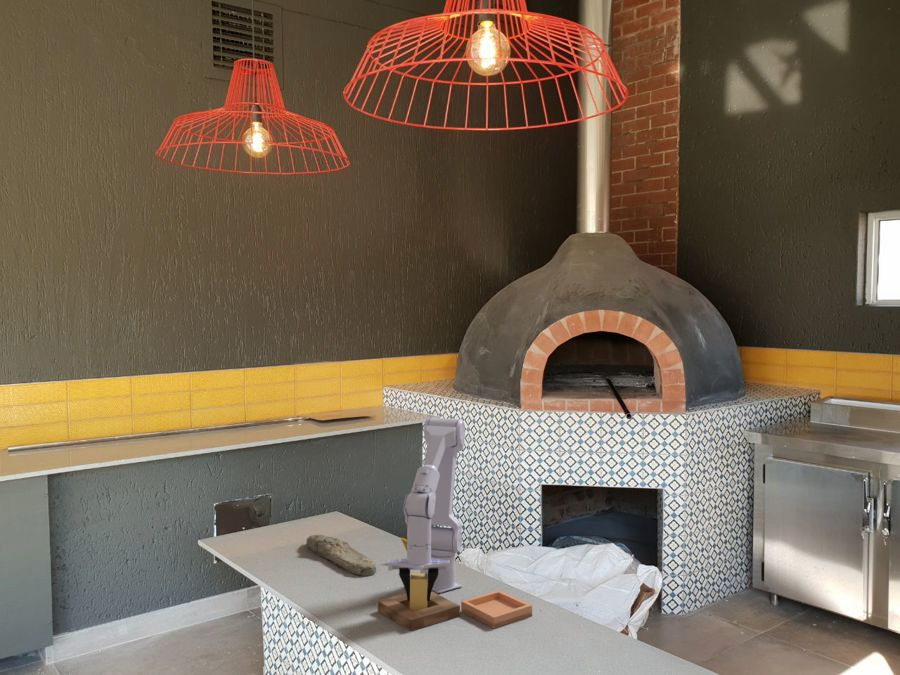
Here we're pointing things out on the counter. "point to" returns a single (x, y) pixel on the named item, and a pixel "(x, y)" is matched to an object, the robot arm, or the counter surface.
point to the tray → (496, 608)
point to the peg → (418, 591)
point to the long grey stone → (341, 554)
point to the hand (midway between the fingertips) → (418, 599)
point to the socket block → (413, 620)
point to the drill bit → (404, 542)
